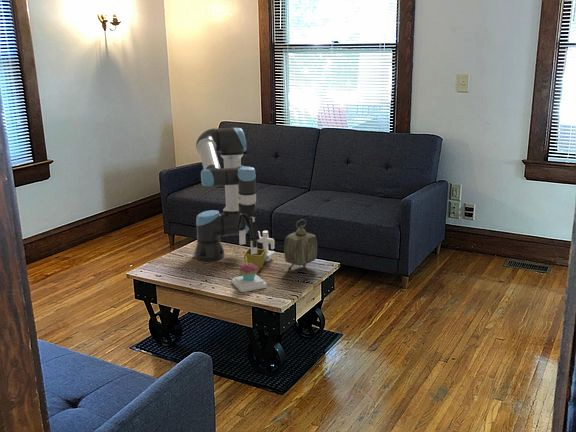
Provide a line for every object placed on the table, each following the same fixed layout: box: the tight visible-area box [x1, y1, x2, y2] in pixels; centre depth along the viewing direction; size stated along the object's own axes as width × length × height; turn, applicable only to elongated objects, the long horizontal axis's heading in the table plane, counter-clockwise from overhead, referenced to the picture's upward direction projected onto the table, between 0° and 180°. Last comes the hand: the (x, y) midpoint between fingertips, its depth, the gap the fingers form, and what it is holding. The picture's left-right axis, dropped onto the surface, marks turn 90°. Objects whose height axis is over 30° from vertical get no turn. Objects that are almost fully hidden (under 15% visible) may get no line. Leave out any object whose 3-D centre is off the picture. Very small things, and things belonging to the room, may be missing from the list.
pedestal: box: [231, 274, 268, 293], centre depth 272 cm, size 12×12×3 cm
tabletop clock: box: [283, 218, 318, 272], centre depth 287 cm, size 14×9×25 cm, turn 136°
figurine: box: [257, 230, 276, 262], centre depth 302 cm, size 7×9×15 cm
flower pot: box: [243, 247, 266, 272], centre depth 290 cm, size 9×9×9 cm
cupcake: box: [238, 255, 259, 281], centre depth 270 cm, size 9×8×12 cm
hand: (248, 248), depth 268 cm, fingers open, 13 cm apart
